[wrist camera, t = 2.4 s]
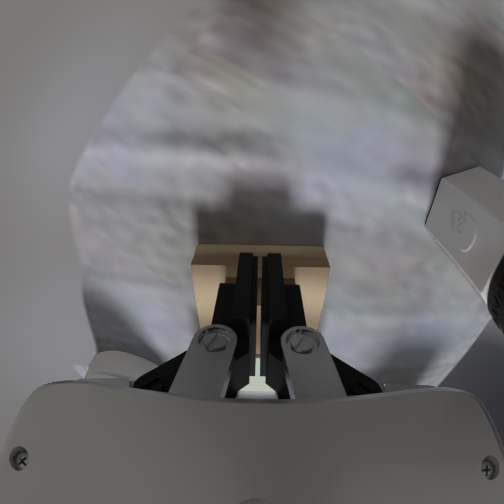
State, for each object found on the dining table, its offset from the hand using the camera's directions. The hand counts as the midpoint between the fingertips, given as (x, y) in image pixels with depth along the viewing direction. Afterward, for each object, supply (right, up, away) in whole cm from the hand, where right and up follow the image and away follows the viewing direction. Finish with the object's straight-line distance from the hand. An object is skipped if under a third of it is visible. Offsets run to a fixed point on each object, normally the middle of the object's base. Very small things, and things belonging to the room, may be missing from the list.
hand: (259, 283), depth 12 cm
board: (0, -3, +14) cm, 15 cm away
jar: (+18, +5, +9) cm, 21 cm away
